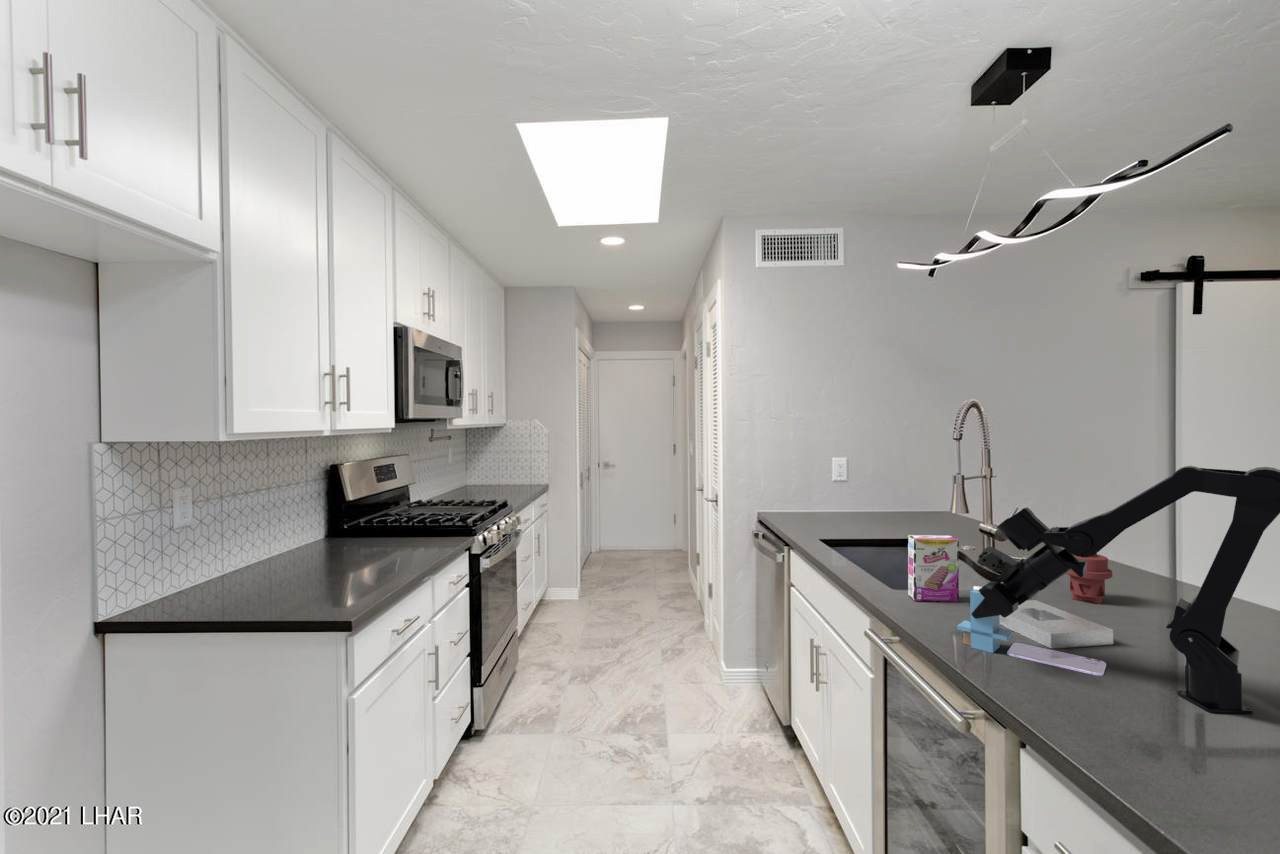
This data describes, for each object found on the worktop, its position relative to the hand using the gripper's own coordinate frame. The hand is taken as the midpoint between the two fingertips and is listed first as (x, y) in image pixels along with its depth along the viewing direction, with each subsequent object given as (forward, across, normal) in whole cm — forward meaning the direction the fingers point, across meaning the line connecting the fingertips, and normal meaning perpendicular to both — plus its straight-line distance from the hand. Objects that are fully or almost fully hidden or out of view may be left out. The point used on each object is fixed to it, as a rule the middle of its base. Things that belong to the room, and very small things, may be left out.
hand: (977, 613), depth 118 cm
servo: (+4, 0, +6) cm, 7 cm away
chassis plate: (0, -20, +10) cm, 22 cm away
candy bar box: (+18, -25, -8) cm, 32 cm away
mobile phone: (-4, -3, +14) cm, 15 cm away
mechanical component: (-2, -52, +12) cm, 53 cm away
